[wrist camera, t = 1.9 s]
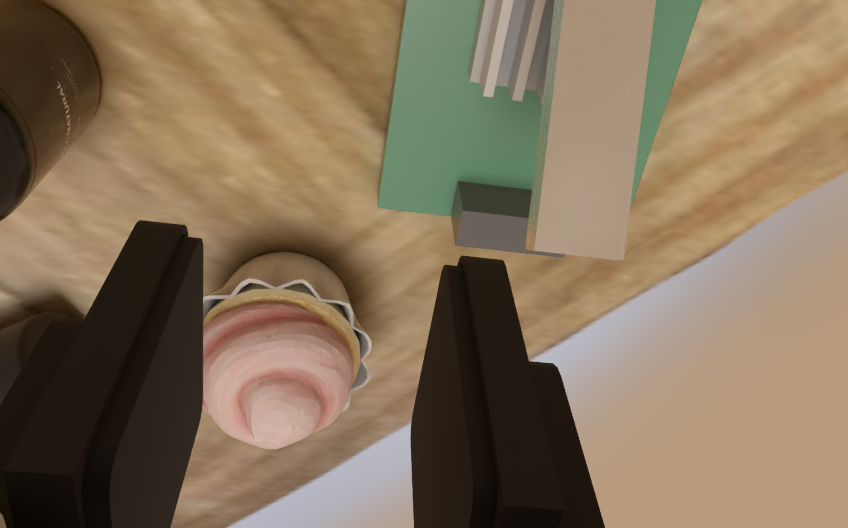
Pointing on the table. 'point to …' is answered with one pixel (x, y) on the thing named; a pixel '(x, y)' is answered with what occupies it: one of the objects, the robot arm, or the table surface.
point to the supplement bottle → (39, 95)
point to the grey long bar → (590, 127)
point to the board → (491, 111)
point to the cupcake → (280, 350)
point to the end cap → (20, 346)
